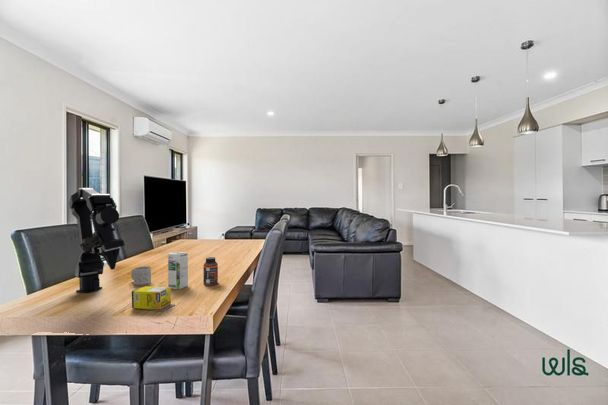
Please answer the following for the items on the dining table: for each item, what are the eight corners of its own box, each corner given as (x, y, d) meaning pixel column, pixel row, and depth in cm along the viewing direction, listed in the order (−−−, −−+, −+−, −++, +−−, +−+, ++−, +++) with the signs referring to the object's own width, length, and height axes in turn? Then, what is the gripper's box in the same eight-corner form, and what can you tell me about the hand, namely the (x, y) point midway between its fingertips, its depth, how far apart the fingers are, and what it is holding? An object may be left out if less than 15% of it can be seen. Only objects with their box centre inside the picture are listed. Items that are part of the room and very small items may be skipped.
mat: (136, 308, 108) (136, 307, 108) (149, 302, 113) (149, 301, 113) (162, 311, 104) (162, 310, 104) (175, 305, 110) (175, 304, 110)
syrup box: (167, 288, 131) (166, 253, 130) (178, 284, 136) (177, 250, 136) (178, 289, 128) (177, 254, 128) (188, 285, 134) (188, 251, 134)
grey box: (154, 282, 141) (154, 267, 140) (141, 285, 135) (140, 270, 134) (138, 279, 145) (138, 265, 145) (125, 283, 139) (124, 268, 138)
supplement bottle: (210, 286, 133) (209, 259, 132) (200, 284, 136) (200, 258, 135) (220, 283, 138) (220, 257, 137) (211, 281, 141) (211, 256, 141)
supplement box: (131, 308, 107) (160, 310, 105) (131, 290, 107) (159, 292, 105) (143, 302, 113) (171, 304, 111) (143, 285, 113) (170, 287, 110)
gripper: (71, 235, 116) (81, 276, 116) (82, 229, 103) (93, 275, 103) (105, 228, 124) (114, 267, 124) (120, 222, 111) (130, 265, 111)
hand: (112, 269), depth 115 cm, fingers closed
